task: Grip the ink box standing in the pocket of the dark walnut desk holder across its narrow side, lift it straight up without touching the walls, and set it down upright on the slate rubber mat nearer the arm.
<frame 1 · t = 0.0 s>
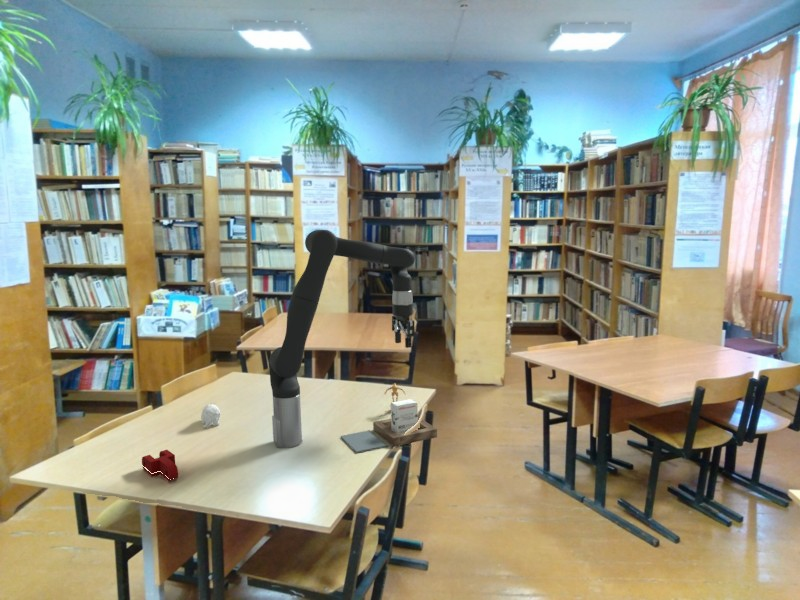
hand: (403, 345, 203), 29 cm above the table, tool pointing down, fingers open, 8 cm apart
holder: (404, 433, 194), on the table
dark red block: (164, 474, 166), on the table
white domed ornament: (209, 424, 206), on the table
ink box: (404, 434, 194), resting in holder
figurine: (395, 412, 217), on the table
mat: (363, 442, 187), on the table
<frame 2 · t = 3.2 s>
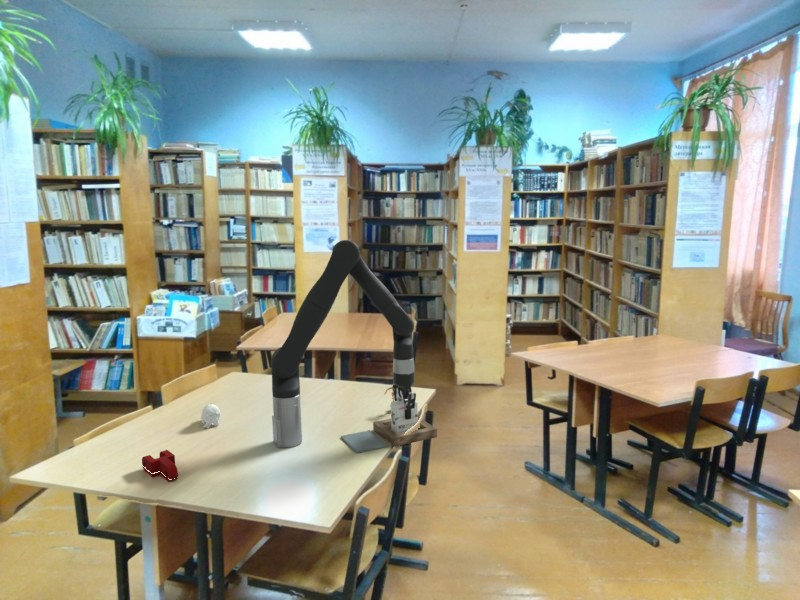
hand: (404, 416, 193), 6 cm above the table, tool pointing down, fingers closed on ink box, 5 cm apart
ink box: (404, 434, 194), resting in holder, touching gripper
everything else where it was.
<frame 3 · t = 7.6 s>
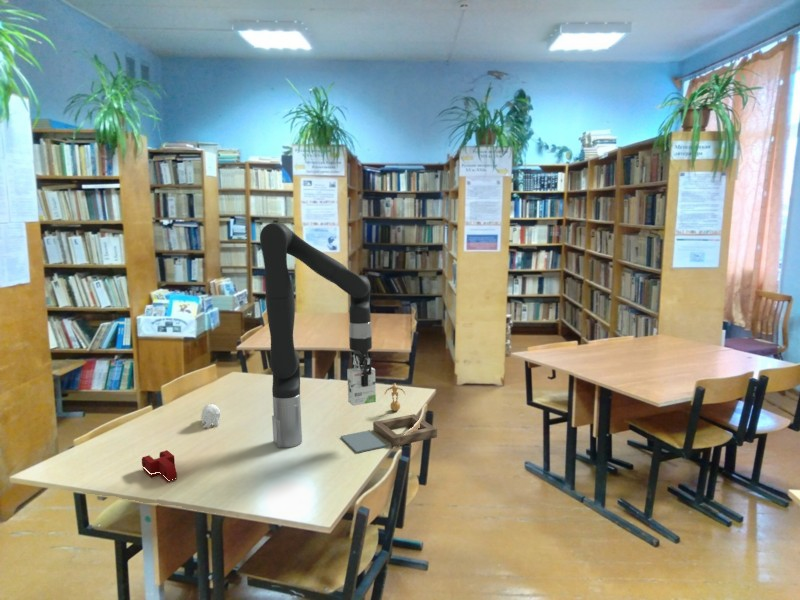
hand: (361, 383, 184), 21 cm above the table, tool pointing down, fingers closed on ink box, 5 cm apart
ink box: (361, 402, 185), point 14 cm above the table, touching gripper
everything else where it was.
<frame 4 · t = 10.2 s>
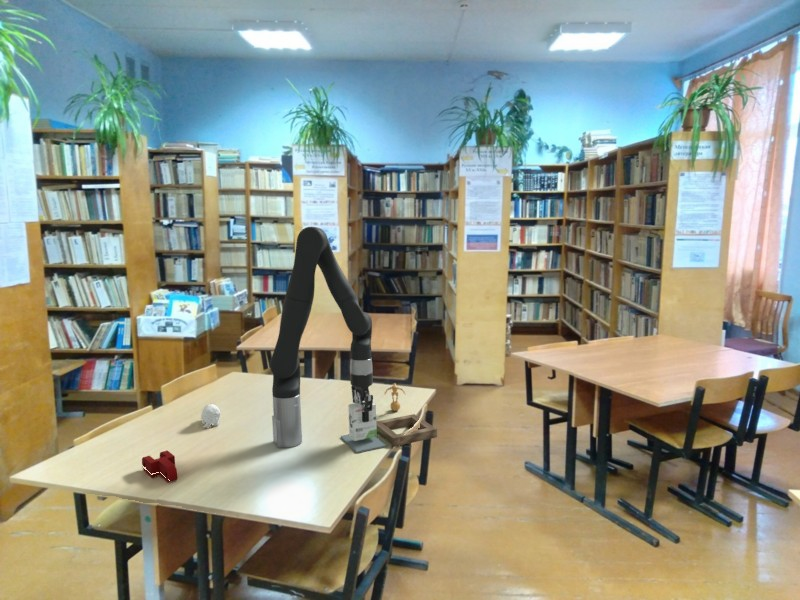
hand: (362, 418, 186), 8 cm above the table, tool pointing down, fingers closed on ink box, 5 cm apart
ink box: (362, 437, 187), point 2 cm above the table, touching gripper
everything else where it was.
when the fingers open (8 cm above the table, at t = 10.6 s): ink box drops 1 cm, resting on mat.
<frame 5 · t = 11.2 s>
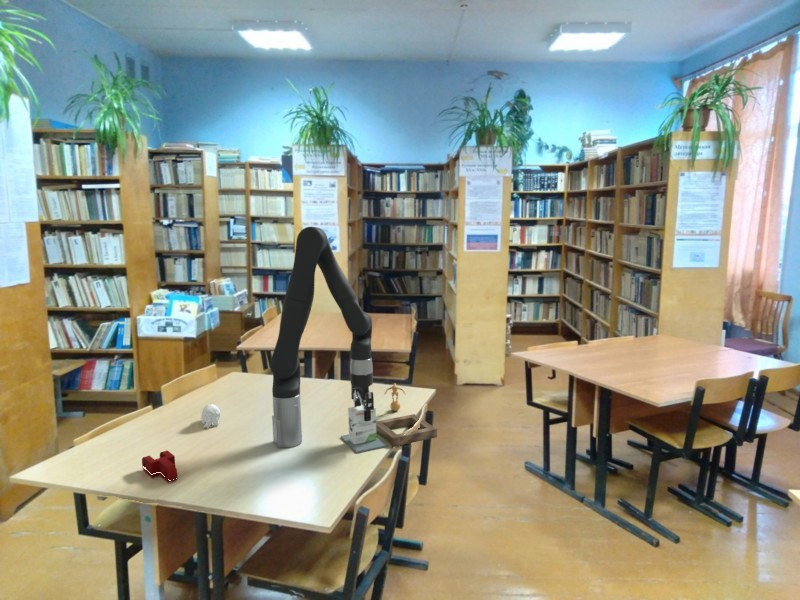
hand: (362, 416, 186), 9 cm above the table, tool pointing down, fingers open, 8 cm apart
ink box: (362, 440, 187), resting on mat
everything else where it was.
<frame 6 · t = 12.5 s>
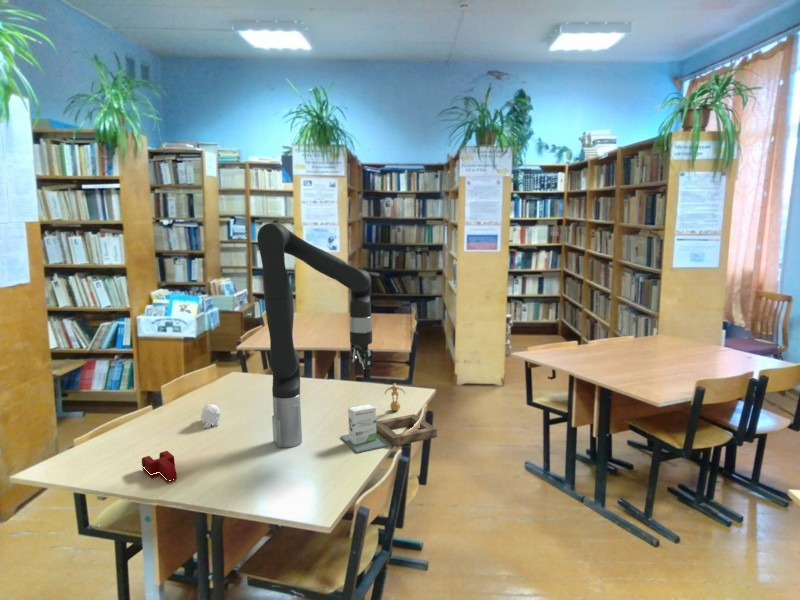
hand: (361, 376, 184), 23 cm above the table, tool pointing down, fingers open, 8 cm apart
nothing on the table moved.
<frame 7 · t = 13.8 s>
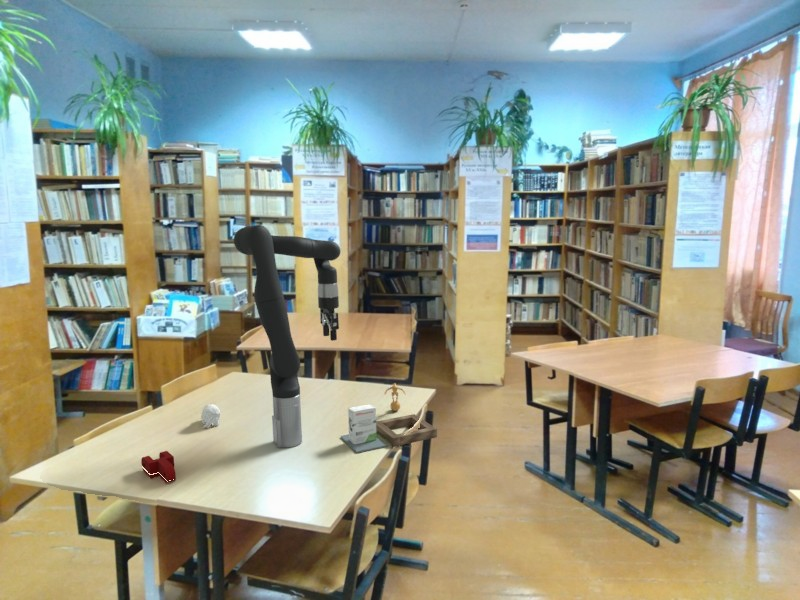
hand: (329, 338, 203), 32 cm above the table, tool pointing down, fingers open, 8 cm apart
nothing on the table moved.
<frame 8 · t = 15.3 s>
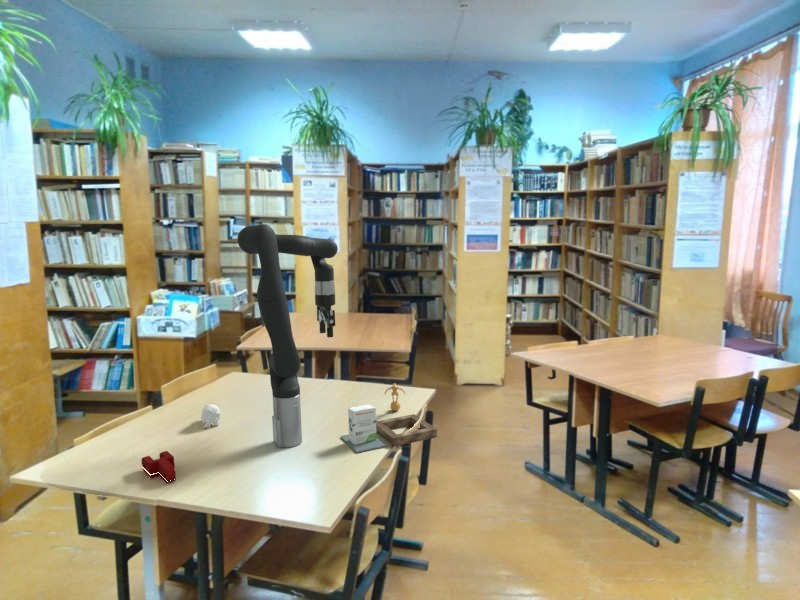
hand: (326, 335, 205), 33 cm above the table, tool pointing down, fingers open, 8 cm apart
nothing on the table moved.
at the end: ink box inside the target area (0.2 cm from its centre), resting on mat; ink box tilted 0°; ink box touching mat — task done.
